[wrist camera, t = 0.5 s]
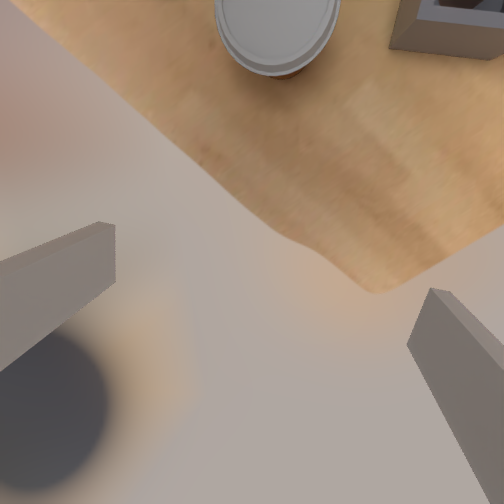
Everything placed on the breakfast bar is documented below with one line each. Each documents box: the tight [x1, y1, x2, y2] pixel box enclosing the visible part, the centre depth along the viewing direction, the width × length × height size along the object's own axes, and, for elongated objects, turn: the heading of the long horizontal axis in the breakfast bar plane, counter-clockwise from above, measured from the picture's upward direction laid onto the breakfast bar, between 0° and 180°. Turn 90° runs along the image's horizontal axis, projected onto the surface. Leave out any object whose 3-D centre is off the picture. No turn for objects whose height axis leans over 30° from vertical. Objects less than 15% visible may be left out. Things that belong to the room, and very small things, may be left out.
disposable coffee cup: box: [215, 0, 341, 79], centre depth 28 cm, size 10×10×12 cm
